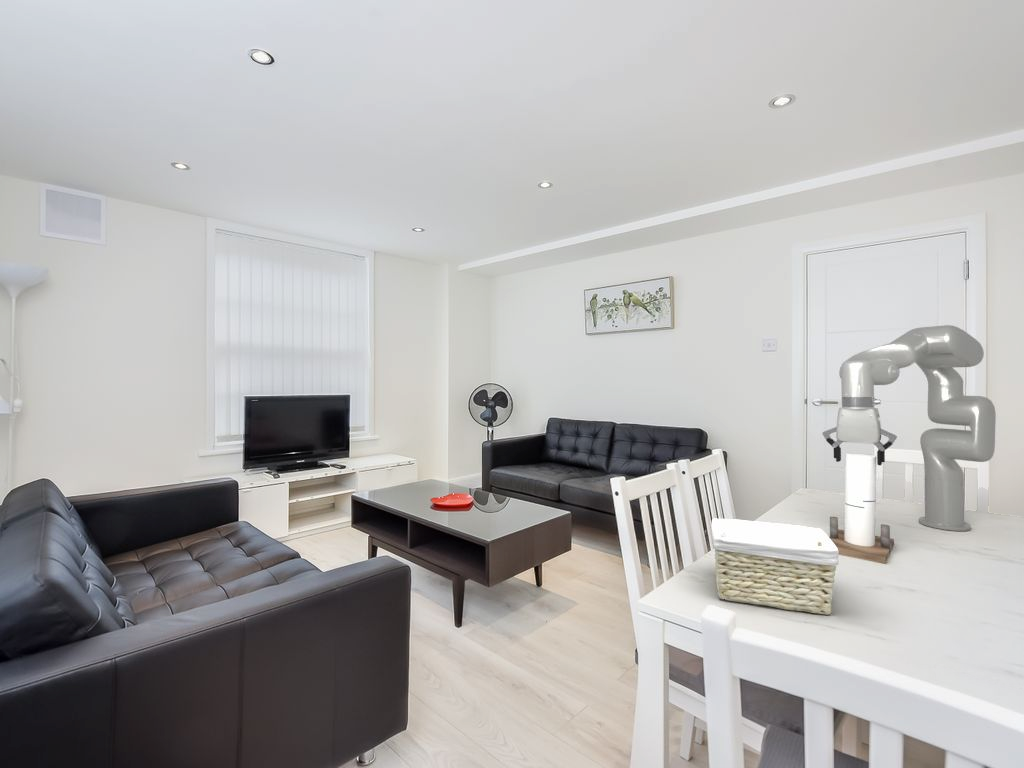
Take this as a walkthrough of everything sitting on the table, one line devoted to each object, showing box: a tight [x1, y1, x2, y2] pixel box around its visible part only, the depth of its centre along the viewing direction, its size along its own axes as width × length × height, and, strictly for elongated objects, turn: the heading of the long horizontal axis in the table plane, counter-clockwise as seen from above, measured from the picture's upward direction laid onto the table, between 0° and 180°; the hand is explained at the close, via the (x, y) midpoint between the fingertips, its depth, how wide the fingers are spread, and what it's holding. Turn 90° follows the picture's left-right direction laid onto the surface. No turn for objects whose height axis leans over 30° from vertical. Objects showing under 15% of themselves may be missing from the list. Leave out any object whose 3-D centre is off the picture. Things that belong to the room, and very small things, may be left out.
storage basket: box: [710, 517, 839, 615], centre depth 107 cm, size 24×16×15 cm
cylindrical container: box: [843, 452, 877, 546], centre depth 136 cm, size 7×7×25 cm
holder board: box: [829, 516, 895, 564], centre depth 136 cm, size 20×14×8 cm
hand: (858, 462), depth 136 cm, fingers open, 9 cm apart
